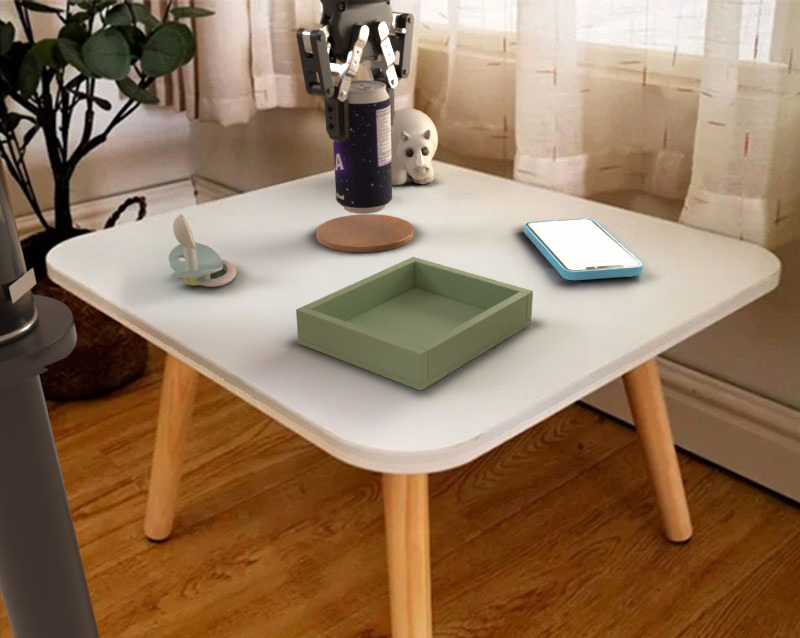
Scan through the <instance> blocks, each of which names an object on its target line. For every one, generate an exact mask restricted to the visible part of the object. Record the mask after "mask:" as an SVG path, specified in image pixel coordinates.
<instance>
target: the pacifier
mask: <svg viewBox="0 0 800 638" xmlns="http://www.w3.org/2000/svg"><path fill="white" fill-rule="evenodd" d="M172 230H173V231H172V232H173V234H174V235H173V236H174V237H175V239H176V240H177V242H178V243H179V244H177V245H176V246H174V247H173V248H172V250H170V253H169V255H168V263H169V266H170V268H171V269H172V270H173V271H174V272H172V273H170V276H171V278H172V279H183V282H184V284H185V285H187V286H192V287H195V286H204V287H211V288H212V287H220V286H224V285H227V284H229V283H230V282H231V281H233V280H234V279H235V278H236V275H237V269H236V267H235V265H234V264H233V263H231V262H230V261H228V260H225V259H222V257H221V256H220V255H219V254H218V253H217V251H215V250H214V249H213V248H211V247H210V246H208V245H205V244H203V243H199V242H195V238H194V235H193V232H192V230H191V227H190V225H189V222H188V220H187V219H186V217H185V215H184V214H183V213H180V214H179V215H176V217H175V219H174V220H173V224H172ZM181 258H182V259H184V261H182V260H179V259H181ZM222 270H224V271H226V272H225V273H224V274H223V275H221V276H219V277H215V278H211V275H213V274H216V273H218V272H219V271H222Z"/></svg>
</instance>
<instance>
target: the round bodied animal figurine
mask: <svg viewBox="0 0 800 638" xmlns="http://www.w3.org/2000/svg"><path fill="white" fill-rule="evenodd" d="M438 135H439V134H438V131H437V127H436V125H435V124H434V122H433V120H432V118H430V117H429V116H428V115H427V114H426V113H425V112H423V111H421V110H418V109H415V108H411V107H406V108H405V107H404V108H400V109H397V110H395V115H394V120H393V126H392V127H391V164H392V186H399V185H404V184H405V183H406V182H407V180H408V177H412V178H411V179H412V181H413V183H415V184H418V185H427V184H429V183H432V182H433V181H434V179H435V178H434V177H435V176H434V175H435V172H434V168H433V164H432V160H433V157H434V156H435V154H436V152H437V149H438V145H439V136H438Z"/></svg>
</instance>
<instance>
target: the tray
mask: <svg viewBox="0 0 800 638" xmlns="http://www.w3.org/2000/svg"><path fill="white" fill-rule="evenodd" d="M533 297H534V291H533V290H531V289H527V288H525V287H521V286H517V285H514V284H510V283H507V282H503V281H500V280H496V279H492V278H489V277H486V276H482V275H479V274H475V273H471V272H468V271H465V270H461V269H458V268H454V267H451V266H447V265H444V264H441V263H437V262H433V261H430V260H426V259H423V258H419V257H416V256H412V257H409V258H408V259H405V260H402V261H400V262H398V263H396V264H394V265H391V266H389V267H388V268H387V267H386V268H385V269H382V270H381V271H379V272H375V273H374V274H372V275H369V276H367V277H365V278H363V279H361V280H358V281H355V282H354V283H351V284H350V285H347V286H345V287H343V288H341V289H338V290H337V291H333V292H332V293H330V294H329V293H328V295H325V296H323V297H321V298H319V299H318V298H317V300H314V301H312V302H310V303H307V304H305V305H303V306H301V307H299V308H297V309H295V317H296V328H297V330H296V331H297V342H298V345H301V346H304V347H306V348H308V349H312V350H314V351H317V352H319V353H322V354H325V355H327V356H330V357H333V358H335V359H337V360H340V361H342V362H345V363H348V364H350V365H352V366H355V367H358V368H360V369H363V370H366V371H368V372H371V373H373V374H376V375H379V376H381V377H384V378H386V379H389V380H391V381H394V382H397V383H399V384H401V385H404V386H406V387H409V388H412V389H413V390H414V389H415V390H417V391H420V392H422V391H423V390H425V389H427V388H429V387H430V386H431V385H433V384H435V383H436V382H439V381H441V380H442V379H443V378H446V376H448V375H450V374H452V373H453V372H454V371H457V370H458V369H459V368H461V367H463V366H464V365H467V364H468V363H469V362H471V361H473V360H475V359H476V358H478V357H479V356H481V355H482V354H484V353H486V352H488V351H490V350H491V349H493V348H494V347H495V346H498V345H499V344H501V343H503V342H504V341H505V340H508V339H509V338H511V337H512V336H514V335H515V334H517V333H519V332H521V331H522V330H524V329H525V328H527V327H529V326H530V325H532V317H533V316H532V312H533V300H534V299H533Z"/></svg>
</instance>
